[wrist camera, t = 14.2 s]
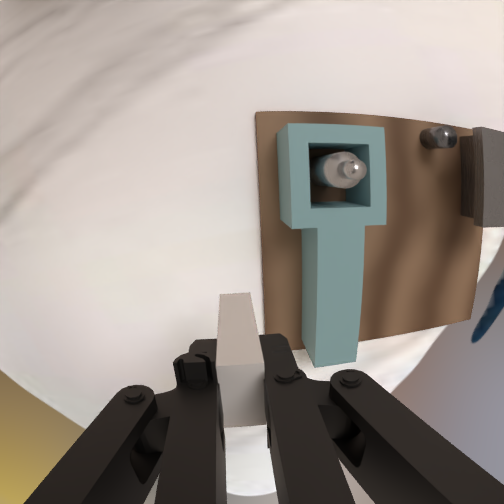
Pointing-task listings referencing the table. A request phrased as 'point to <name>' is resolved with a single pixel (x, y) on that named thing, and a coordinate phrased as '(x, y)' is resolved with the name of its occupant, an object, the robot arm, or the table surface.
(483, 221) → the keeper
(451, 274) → the board
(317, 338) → the link
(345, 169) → the peg
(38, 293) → the table surface
